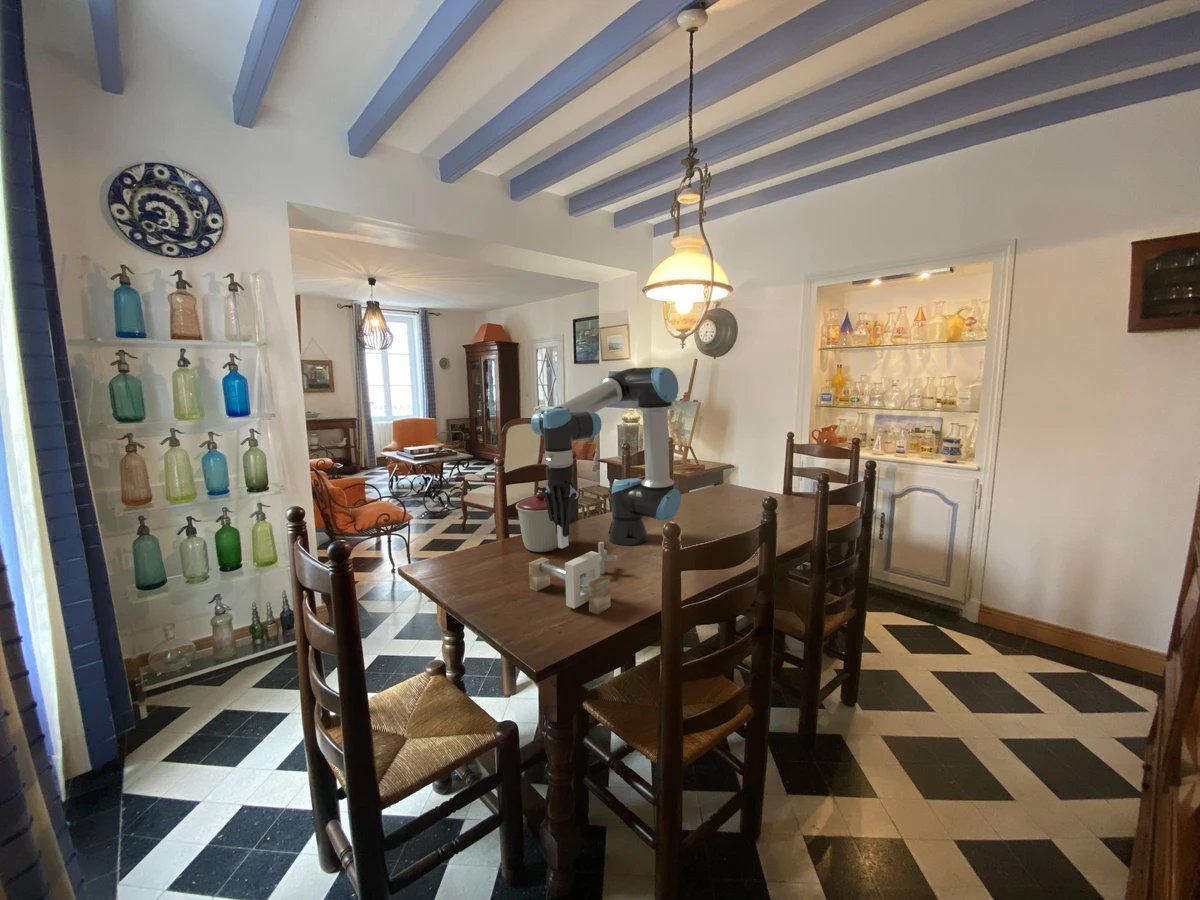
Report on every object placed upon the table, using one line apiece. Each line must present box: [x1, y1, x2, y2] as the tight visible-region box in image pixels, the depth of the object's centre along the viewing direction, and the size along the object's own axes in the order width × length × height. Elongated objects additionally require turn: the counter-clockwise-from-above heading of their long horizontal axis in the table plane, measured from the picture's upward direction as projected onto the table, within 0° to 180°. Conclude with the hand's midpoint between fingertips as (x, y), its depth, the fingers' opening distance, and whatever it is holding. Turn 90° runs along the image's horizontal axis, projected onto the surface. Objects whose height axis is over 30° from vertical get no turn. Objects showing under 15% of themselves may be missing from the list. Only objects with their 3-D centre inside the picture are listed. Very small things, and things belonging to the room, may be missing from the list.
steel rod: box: [539, 562, 595, 589], centre depth 134 cm, size 25×3×3 cm, turn 51°
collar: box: [564, 550, 601, 609], centre depth 131 cm, size 3×11×12 cm, turn 141°
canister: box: [515, 491, 558, 553], centre depth 174 cm, size 18×18×21 cm
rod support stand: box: [528, 557, 612, 615], centre depth 135 cm, size 26×6×8 cm, turn 51°
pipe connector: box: [597, 541, 618, 575], centre depth 151 cm, size 10×10×10 cm
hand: (563, 546), depth 135 cm, fingers closed
